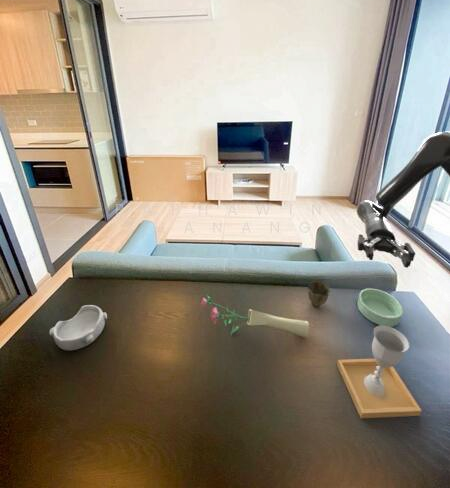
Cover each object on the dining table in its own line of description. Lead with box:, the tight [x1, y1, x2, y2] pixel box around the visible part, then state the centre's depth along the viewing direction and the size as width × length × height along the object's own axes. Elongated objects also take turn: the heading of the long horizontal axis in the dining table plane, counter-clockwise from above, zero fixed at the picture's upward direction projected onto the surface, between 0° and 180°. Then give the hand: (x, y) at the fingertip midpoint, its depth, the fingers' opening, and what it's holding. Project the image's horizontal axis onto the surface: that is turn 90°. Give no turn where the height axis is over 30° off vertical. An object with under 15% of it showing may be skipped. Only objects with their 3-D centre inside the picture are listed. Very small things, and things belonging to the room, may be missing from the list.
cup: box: [307, 279, 331, 308], centre depth 90 cm, size 8×7×8 cm
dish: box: [49, 304, 108, 351], centre depth 79 cm, size 14×14×5 cm
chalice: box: [364, 325, 410, 397], centre depth 62 cm, size 7×7×18 cm
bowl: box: [356, 287, 404, 328], centre depth 87 cm, size 13×13×4 cm
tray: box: [336, 358, 423, 419], centre depth 65 cm, size 15×13×2 cm
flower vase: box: [200, 292, 311, 339], centre depth 80 cm, size 12×12×35 cm
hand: (389, 261), depth 68 cm, fingers open, 8 cm apart
